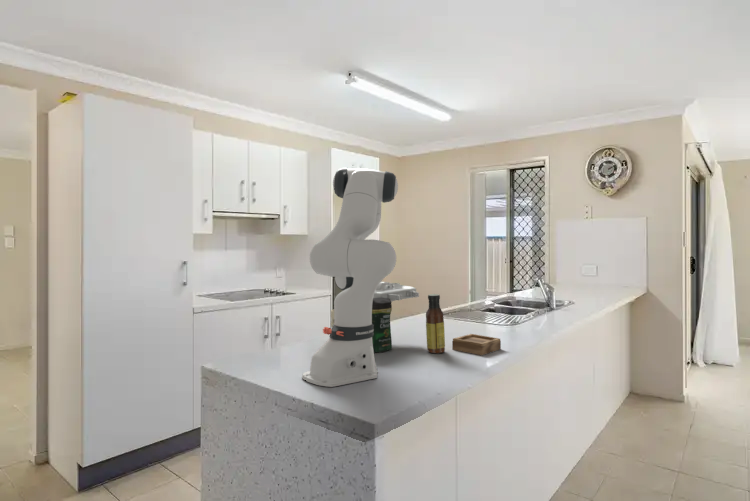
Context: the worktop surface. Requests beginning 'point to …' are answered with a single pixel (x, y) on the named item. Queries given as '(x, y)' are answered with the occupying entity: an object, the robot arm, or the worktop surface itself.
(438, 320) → the sauce bottle
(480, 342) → the tray
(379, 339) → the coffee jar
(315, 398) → the worktop surface
